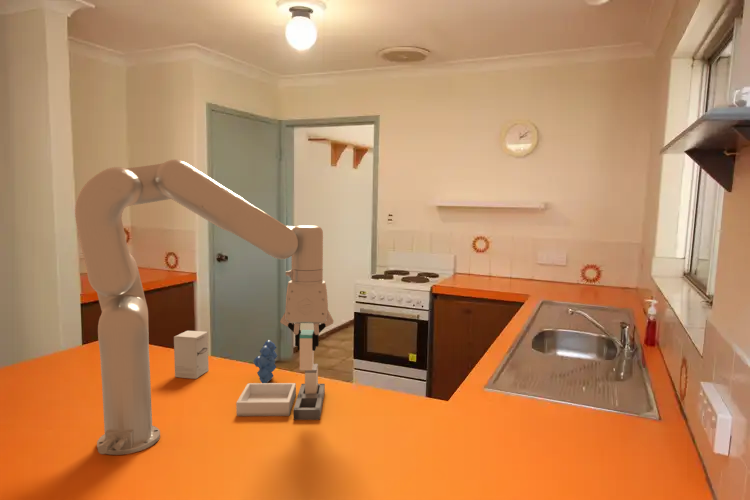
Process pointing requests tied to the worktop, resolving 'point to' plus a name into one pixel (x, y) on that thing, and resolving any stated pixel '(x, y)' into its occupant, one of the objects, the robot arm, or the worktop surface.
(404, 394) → the worktop surface
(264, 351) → the grapes
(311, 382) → the block
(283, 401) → the tray
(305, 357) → the block
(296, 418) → the frame
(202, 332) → the supplement box
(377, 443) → the worktop surface
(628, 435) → the worktop surface
